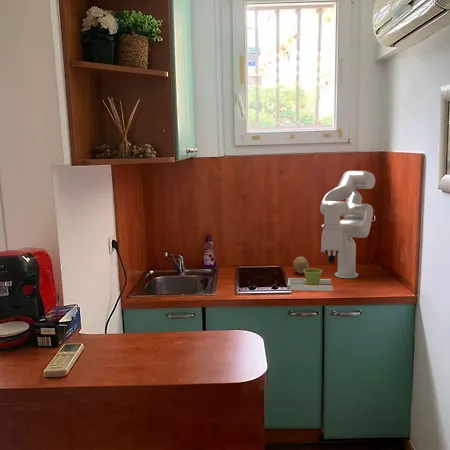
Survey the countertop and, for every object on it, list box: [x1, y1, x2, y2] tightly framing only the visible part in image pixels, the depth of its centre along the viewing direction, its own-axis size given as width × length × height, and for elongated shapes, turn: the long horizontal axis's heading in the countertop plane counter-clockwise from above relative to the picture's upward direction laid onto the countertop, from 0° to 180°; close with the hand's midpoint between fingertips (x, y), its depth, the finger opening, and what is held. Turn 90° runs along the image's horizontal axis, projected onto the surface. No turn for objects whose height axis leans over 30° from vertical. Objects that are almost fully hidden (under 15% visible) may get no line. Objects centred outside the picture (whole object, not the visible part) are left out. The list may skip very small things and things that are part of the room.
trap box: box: [287, 277, 334, 292], centre depth 238 cm, size 13×22×3 cm, turn 82°
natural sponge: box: [292, 255, 310, 275], centre depth 265 cm, size 9×9×10 cm
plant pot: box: [303, 268, 323, 285], centre depth 237 cm, size 9×9×9 cm
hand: (331, 263), depth 234 cm, fingers closed
